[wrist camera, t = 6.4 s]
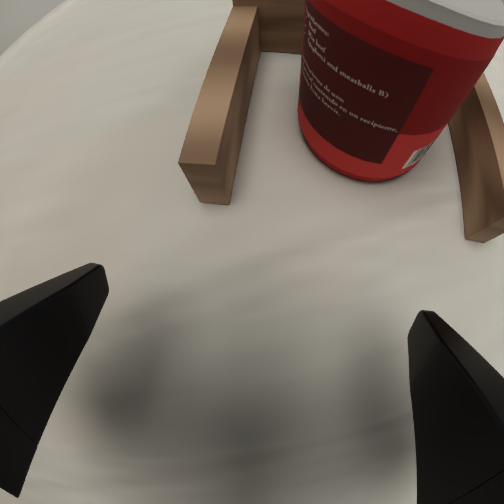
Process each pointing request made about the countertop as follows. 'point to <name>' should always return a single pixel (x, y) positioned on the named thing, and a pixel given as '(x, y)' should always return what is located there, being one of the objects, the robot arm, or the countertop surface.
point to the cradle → (290, 41)
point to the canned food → (389, 77)
